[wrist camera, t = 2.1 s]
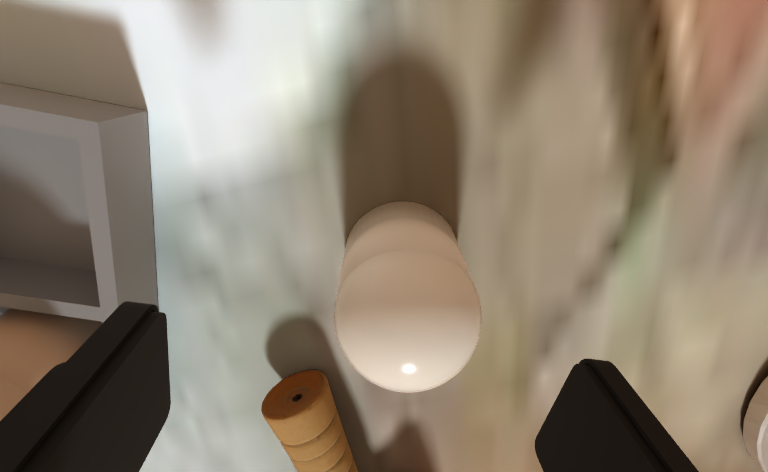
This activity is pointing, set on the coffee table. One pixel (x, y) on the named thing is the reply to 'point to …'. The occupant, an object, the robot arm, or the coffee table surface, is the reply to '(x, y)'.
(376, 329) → the egg
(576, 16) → the coffee table surface
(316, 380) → the kendama
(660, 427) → the robot arm
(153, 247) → the carton
